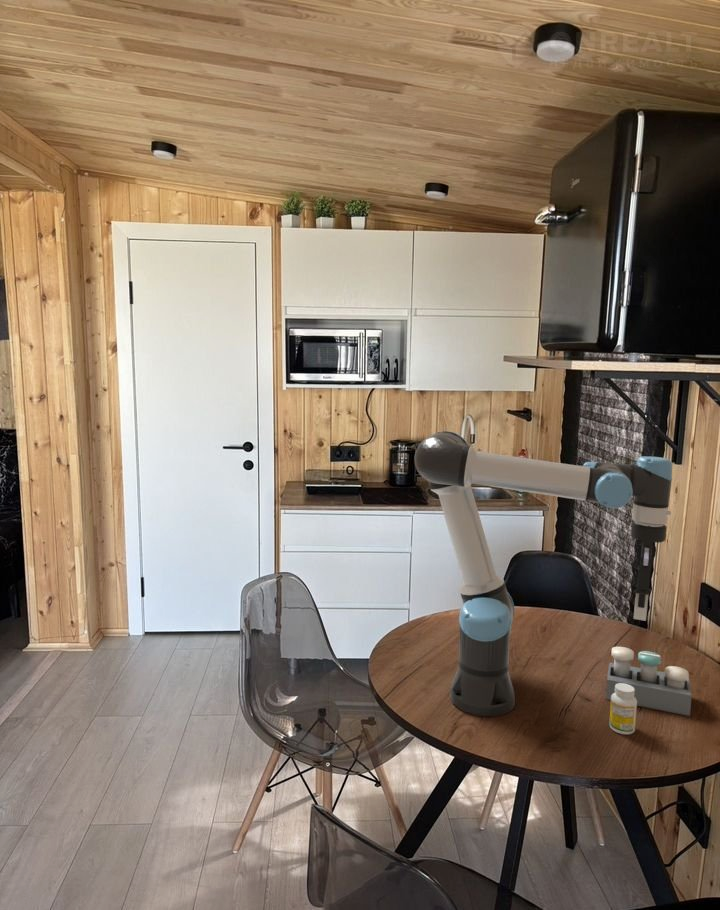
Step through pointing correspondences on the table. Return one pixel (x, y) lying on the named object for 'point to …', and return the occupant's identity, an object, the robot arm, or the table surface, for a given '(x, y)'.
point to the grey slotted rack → (653, 691)
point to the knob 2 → (676, 676)
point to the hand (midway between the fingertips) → (639, 618)
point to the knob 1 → (622, 661)
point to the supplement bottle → (623, 709)
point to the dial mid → (649, 666)
